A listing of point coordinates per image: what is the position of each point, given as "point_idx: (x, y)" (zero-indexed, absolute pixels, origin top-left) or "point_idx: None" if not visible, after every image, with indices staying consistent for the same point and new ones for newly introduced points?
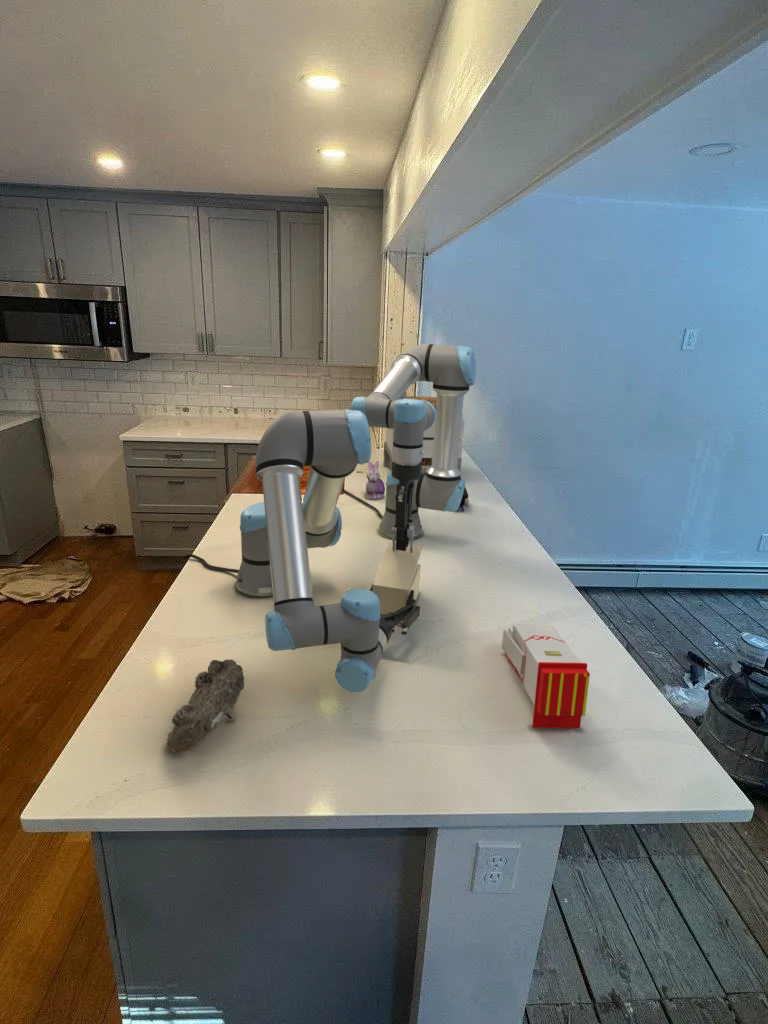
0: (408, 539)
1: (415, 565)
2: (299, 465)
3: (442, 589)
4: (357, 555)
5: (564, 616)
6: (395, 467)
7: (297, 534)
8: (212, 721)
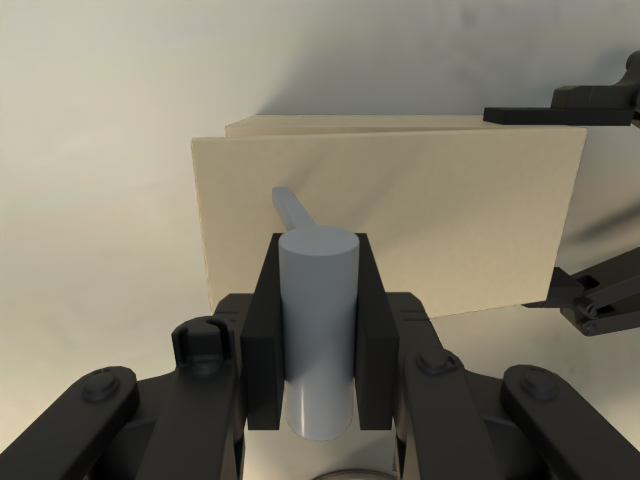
0: (271, 253)
1: (402, 138)
2: None
3: (184, 15)
4: (66, 374)
5: None
6: None
7: None
8: None
